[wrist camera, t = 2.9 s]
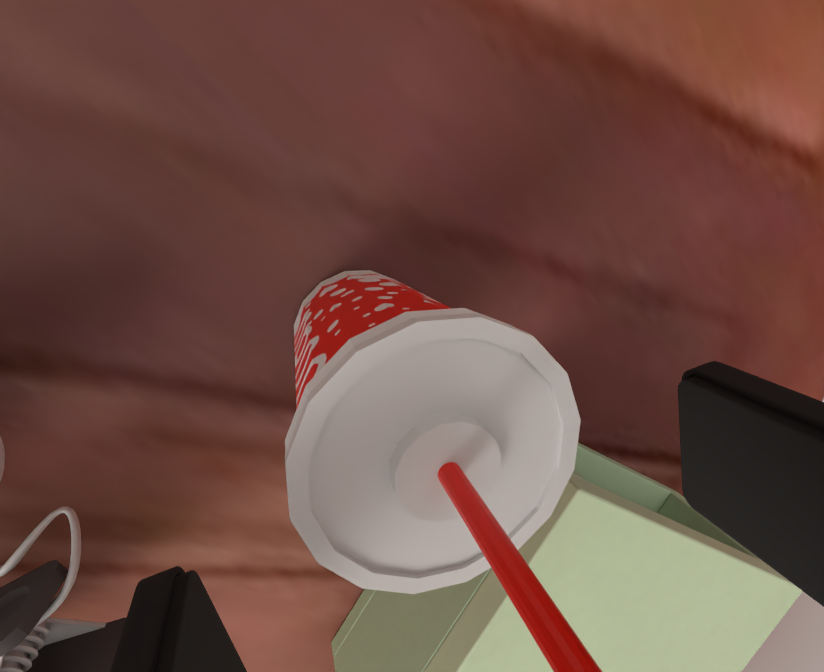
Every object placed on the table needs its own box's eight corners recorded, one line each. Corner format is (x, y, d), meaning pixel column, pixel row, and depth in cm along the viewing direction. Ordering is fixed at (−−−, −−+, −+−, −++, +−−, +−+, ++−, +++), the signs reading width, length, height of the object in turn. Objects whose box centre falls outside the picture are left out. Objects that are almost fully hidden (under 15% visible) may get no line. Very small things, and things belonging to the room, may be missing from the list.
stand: (484, 395, 20) (580, 488, 14) (675, 490, 25) (805, 589, 19) (330, 642, 22) (358, 820, 16) (539, 685, 27) (620, 831, 21)
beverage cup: (330, 211, 16) (595, 348, 4) (468, 303, 19) (917, 576, 6) (236, 365, 17) (178, 946, 4) (382, 434, 19) (623, 932, 7)
